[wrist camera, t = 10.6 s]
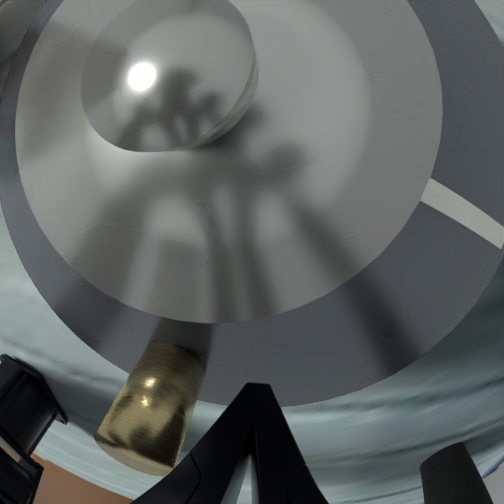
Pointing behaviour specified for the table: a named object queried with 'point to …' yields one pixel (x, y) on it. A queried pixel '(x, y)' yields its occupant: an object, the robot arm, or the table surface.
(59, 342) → the table surface
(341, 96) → the cover
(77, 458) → the table surface
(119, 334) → the platter
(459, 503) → the drinking cup
